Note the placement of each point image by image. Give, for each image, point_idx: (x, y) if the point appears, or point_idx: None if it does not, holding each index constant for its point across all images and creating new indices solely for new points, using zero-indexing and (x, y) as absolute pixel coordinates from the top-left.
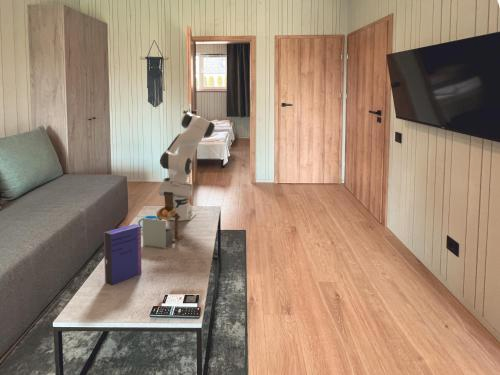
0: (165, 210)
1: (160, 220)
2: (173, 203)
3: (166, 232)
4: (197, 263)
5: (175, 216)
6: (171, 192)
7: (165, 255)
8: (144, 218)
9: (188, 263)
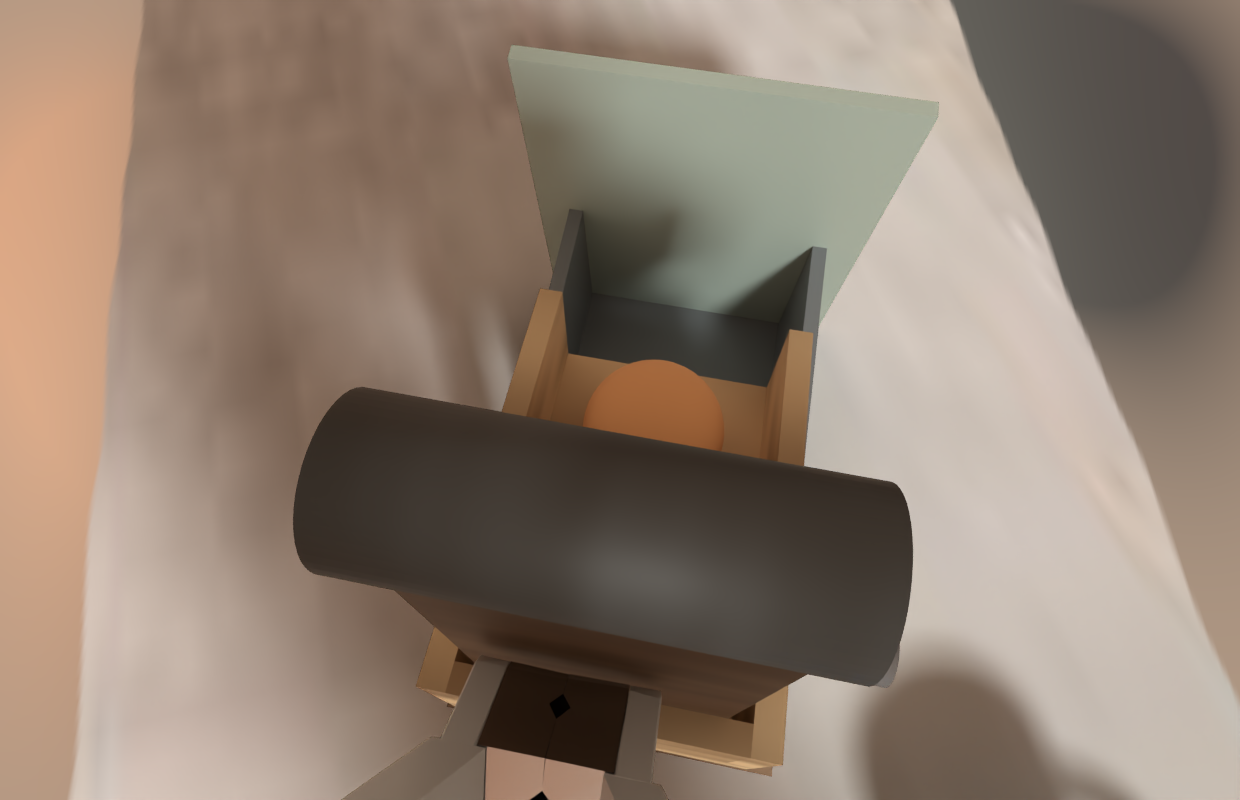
0: (630, 383)
1: (597, 57)
2: (456, 642)
3: (556, 288)
4: (219, 40)
5: None
6: (358, 421)
7: (512, 137)
8: (901, 100)
9: (290, 27)
